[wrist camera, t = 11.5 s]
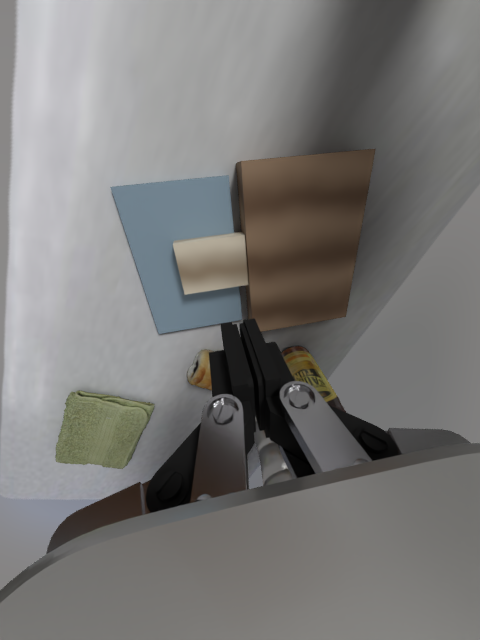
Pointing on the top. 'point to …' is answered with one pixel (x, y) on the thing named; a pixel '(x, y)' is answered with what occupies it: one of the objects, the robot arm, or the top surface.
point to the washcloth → (101, 429)
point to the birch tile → (212, 262)
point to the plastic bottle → (270, 459)
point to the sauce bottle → (310, 373)
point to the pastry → (200, 370)
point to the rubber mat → (158, 253)
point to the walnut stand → (302, 234)
